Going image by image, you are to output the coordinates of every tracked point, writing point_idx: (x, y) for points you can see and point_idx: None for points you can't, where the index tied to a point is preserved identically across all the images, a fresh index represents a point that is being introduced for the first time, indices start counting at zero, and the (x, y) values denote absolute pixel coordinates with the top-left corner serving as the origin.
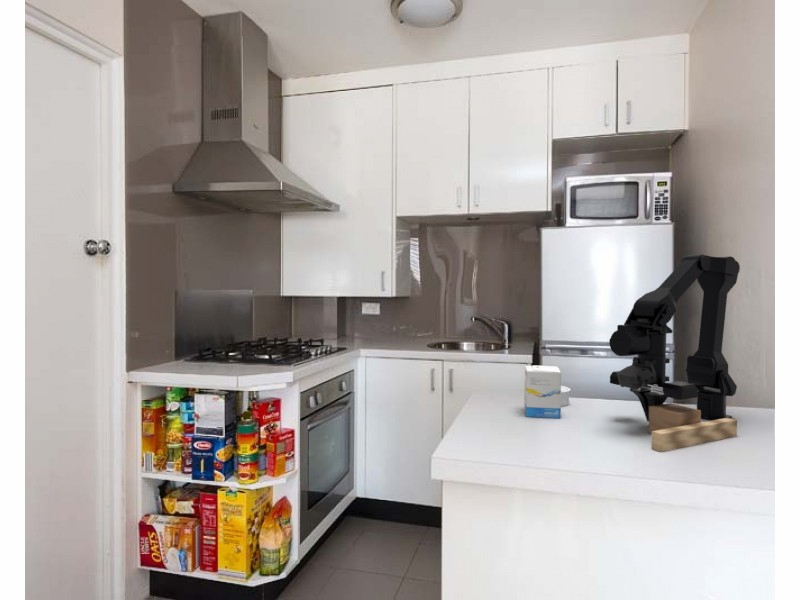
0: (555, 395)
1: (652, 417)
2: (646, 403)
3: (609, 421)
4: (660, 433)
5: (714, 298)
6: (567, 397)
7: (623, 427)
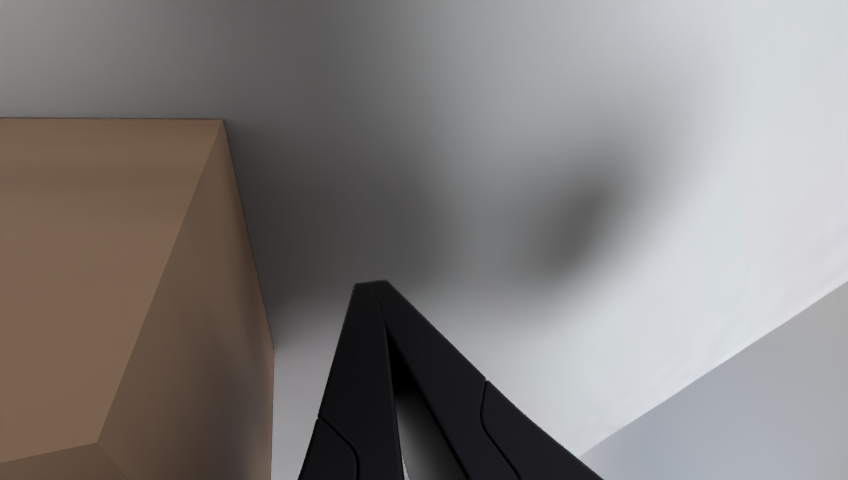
0: None
1: (73, 238)
2: (444, 460)
3: (655, 97)
4: None
5: None
6: None
7: (496, 47)
